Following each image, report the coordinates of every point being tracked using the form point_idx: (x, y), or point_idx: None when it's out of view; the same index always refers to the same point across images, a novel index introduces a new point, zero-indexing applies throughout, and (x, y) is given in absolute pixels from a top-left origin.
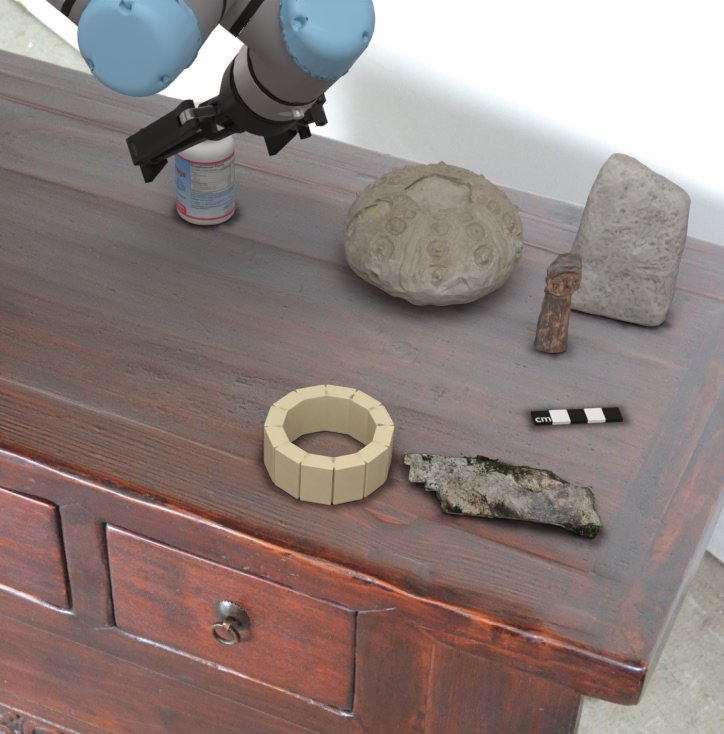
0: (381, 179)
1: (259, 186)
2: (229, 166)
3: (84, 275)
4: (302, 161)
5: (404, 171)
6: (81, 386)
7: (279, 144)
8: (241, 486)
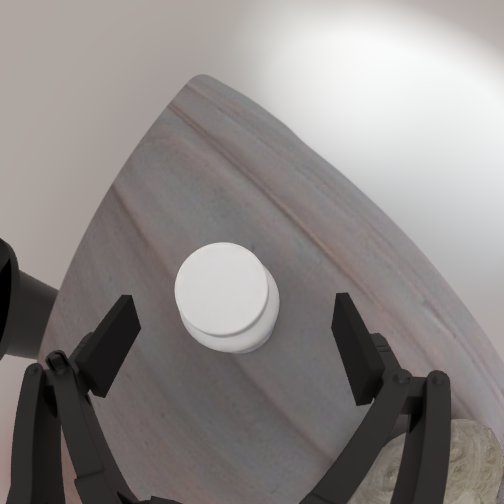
0: None
1: (320, 290)
2: (256, 345)
3: None
4: (381, 258)
5: (451, 489)
6: None
7: (343, 361)
8: None
